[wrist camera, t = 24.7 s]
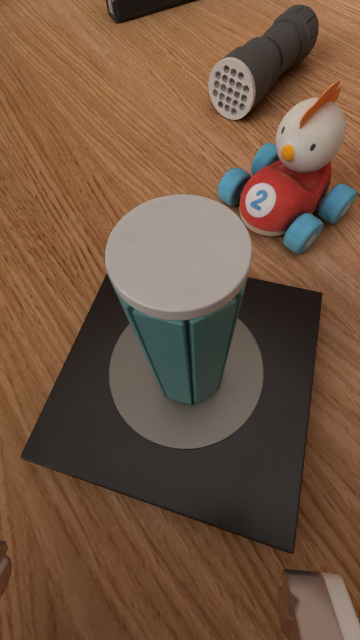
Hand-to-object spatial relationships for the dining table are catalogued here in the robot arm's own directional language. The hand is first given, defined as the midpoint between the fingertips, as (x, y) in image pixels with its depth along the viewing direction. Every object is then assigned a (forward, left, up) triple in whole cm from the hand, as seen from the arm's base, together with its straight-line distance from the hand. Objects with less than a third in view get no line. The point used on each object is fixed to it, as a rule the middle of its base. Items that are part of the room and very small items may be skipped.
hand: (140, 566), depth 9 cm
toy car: (+26, -3, -10) cm, 28 cm away
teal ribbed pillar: (+9, +1, -8) cm, 12 cm away
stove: (+9, +1, -10) cm, 13 cm away
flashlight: (+45, +2, -10) cm, 46 cm away
